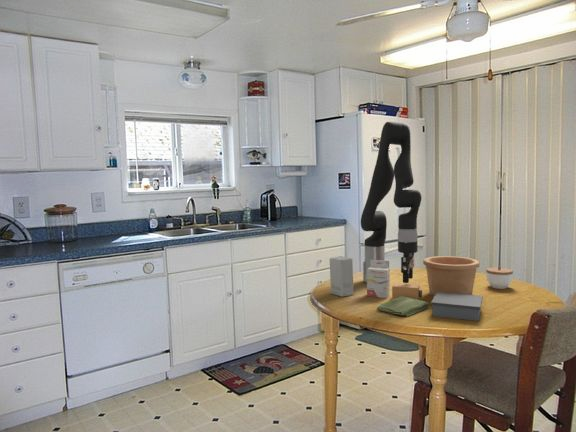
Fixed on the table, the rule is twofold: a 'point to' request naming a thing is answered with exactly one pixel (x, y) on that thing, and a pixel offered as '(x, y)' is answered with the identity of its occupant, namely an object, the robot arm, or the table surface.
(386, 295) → the ink cartridge box
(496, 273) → the lidded jar
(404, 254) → the robot arm
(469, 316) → the stand
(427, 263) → the pottery
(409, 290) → the block
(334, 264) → the skincare box
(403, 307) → the washcloth
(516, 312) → the table surface
